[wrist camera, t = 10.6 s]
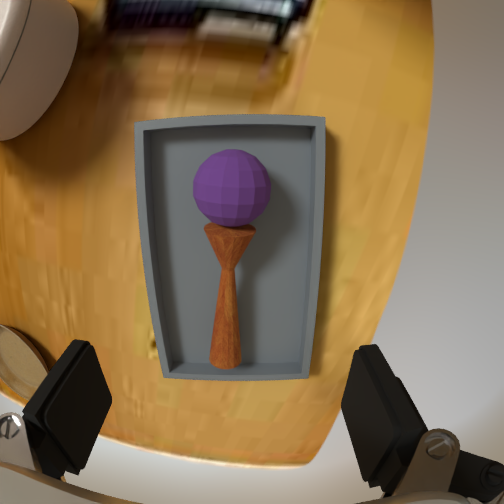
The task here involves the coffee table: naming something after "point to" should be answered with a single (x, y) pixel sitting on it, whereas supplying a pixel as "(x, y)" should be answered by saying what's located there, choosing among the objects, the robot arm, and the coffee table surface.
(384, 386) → the robot arm
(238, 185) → the kendama
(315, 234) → the tray
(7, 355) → the plant saucer
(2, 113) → the container
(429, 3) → the coffee table surface
